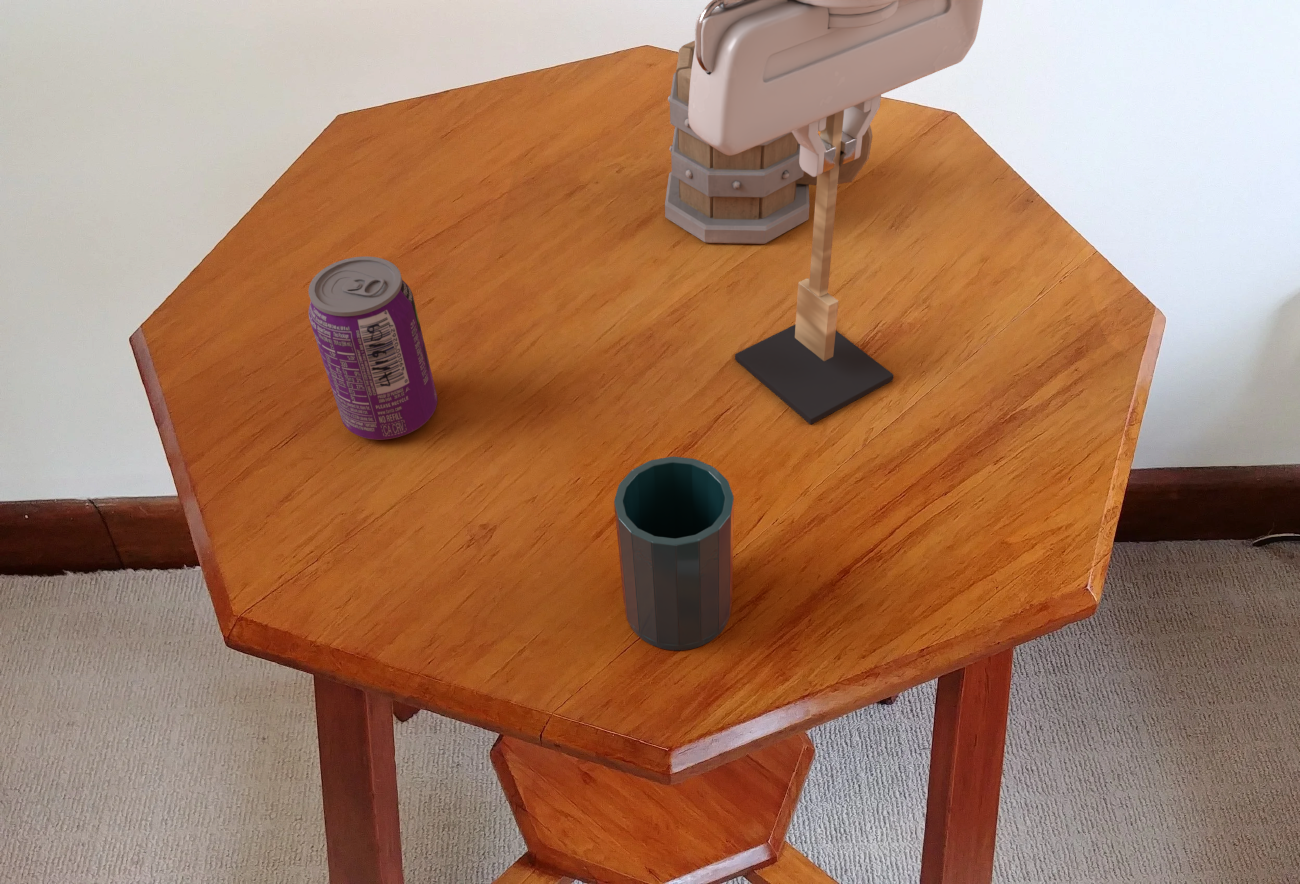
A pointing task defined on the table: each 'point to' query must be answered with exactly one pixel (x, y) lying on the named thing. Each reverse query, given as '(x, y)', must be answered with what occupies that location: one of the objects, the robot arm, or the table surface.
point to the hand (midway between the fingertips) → (829, 164)
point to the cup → (676, 551)
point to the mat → (813, 373)
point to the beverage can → (372, 347)
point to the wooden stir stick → (821, 258)
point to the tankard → (737, 178)
